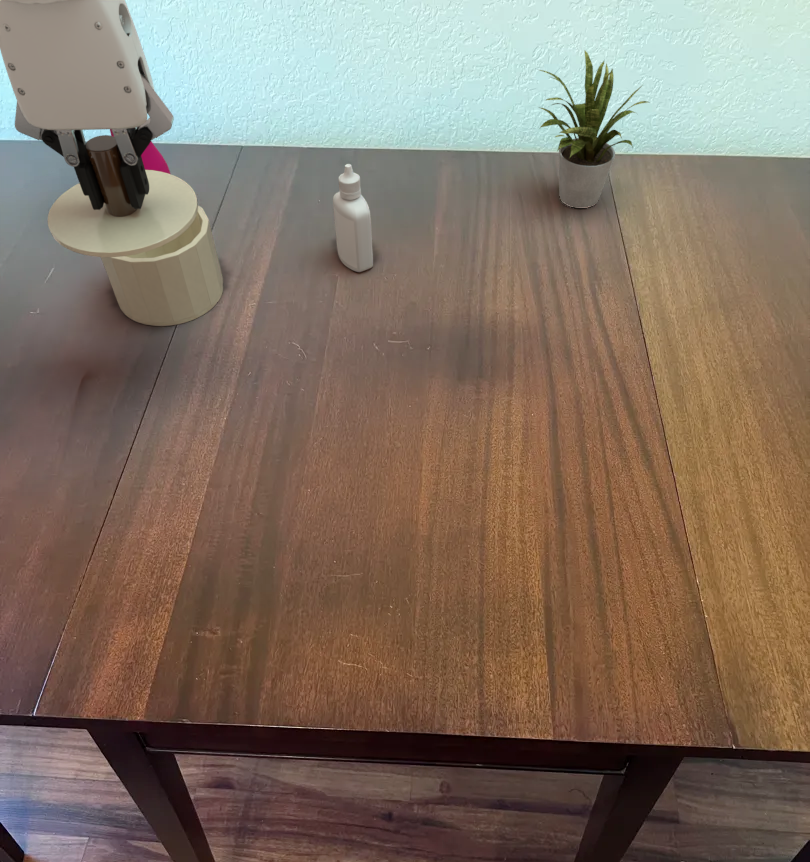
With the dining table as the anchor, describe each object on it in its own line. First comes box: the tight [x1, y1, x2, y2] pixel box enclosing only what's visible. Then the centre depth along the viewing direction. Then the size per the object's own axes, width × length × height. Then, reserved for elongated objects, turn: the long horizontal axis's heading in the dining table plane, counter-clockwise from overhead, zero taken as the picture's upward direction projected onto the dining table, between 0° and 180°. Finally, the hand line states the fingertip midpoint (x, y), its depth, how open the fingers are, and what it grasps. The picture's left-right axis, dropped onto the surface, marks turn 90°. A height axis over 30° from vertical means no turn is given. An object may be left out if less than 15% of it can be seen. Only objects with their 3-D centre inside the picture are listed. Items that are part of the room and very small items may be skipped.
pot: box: [100, 205, 224, 327], centre depth 89 cm, size 12×12×8 cm
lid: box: [47, 134, 199, 258], centre depth 69 cm, size 13×13×7 cm
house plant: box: [537, 50, 651, 207], centre depth 97 cm, size 14×14×16 cm
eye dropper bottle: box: [332, 163, 374, 273], centre depth 91 cm, size 4×6×12 cm
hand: (119, 199), depth 70 cm, fingers closed on lid, 2 cm apart
